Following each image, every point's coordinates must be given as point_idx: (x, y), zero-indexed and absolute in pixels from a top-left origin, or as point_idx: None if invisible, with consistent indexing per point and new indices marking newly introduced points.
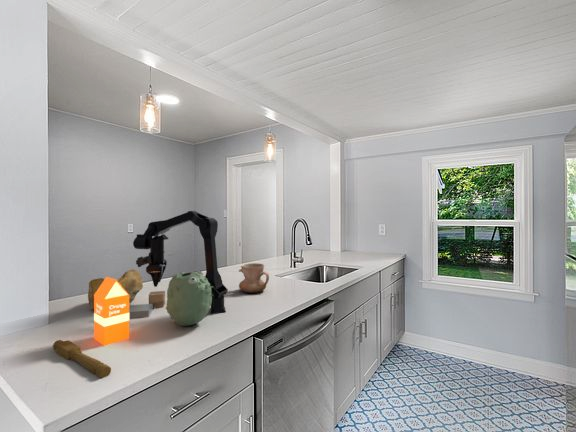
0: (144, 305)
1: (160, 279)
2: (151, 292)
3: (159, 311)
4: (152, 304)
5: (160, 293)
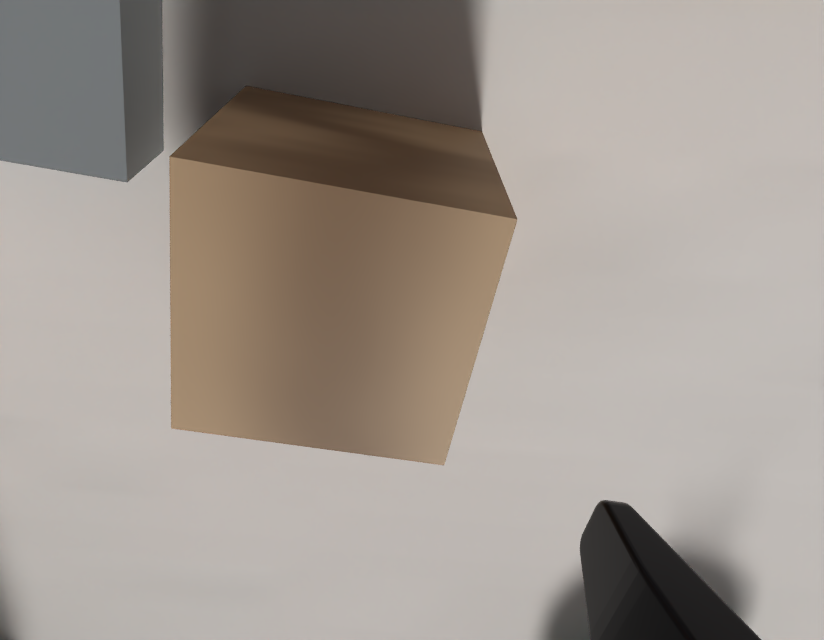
0: (16, 21)
1: (592, 624)
2: (413, 227)
3: (30, 237)
4: (96, 173)
5: (242, 388)
